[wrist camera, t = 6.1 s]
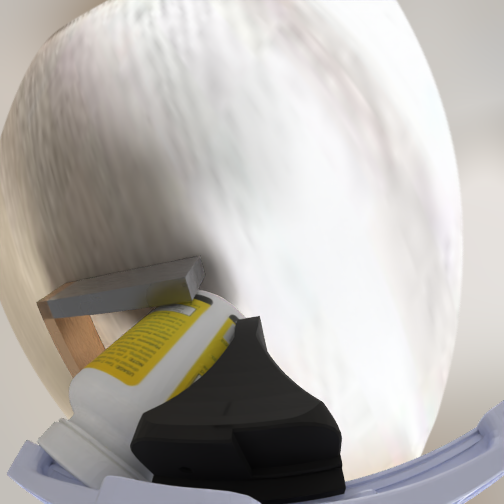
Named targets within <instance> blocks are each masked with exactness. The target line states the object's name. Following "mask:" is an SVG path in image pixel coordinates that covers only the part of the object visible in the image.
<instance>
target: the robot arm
mask: <svg viewBox="0 0 504 504" xmlns="http://www.w3.org/2000/svg"><path fill="white" fill-rule="evenodd" d="M341 442H342V436H341V432H340V430H339V427H338V425H337V423H336V421H335V419H334V418H333V416H332V415H331V413H330V412H329V410H328V409H327V407H326V406H325V404H324V403H323V402H322V401H320V400H319V399H317V398H315V397H314V396H312V395H311V394H309V393H308V392H306V391H305V390H303V389H302V388H301V387H299V386H298V385H297V384H296V383H295V382H294V381H293V380H291V379H290V378H289V377H288V376H287V375H286V374H285V373H284V372H283V371H282V370H281V369H280V368H279V366H278V365H277V364H276V363H275V362H274V360H273V359H272V358H271V356H270V355H269V353H268V352H267V348H266V343H265V339H264V334H263V329H262V325H261V320H260V316H258V317H251V318H245V319H238V320H237V323H236V325H235V332H234V338H233V339H232V341H231V343H230V344H229V345H228V347H227V348H226V350H225V351H224V352H223V354H222V355H221V356H220V357H219V359H218V360H217V361H216V362H215V363H214V365H213V366H212V367H211V368H210V369H209V370H208V371H207V372H206V373H205V374H204V375H203V376H201V377H200V378H199V379H198V380H197V381H195V382H194V383H193V384H192V385H190V386H189V387H188V388H187V389H185V390H184V391H182V392H181V393H179V394H178V395H176V396H175V397H173V398H172V399H170V400H168V401H166V402H165V403H163V404H161V405H159V406H157V407H155V408H153V409H151V410H149V411H146V412H144V413H143V414H142V416H141V418H140V420H139V422H138V425H137V428H136V430H135V433H134V436H133V438H132V441H131V444H130V448H131V451H132V453H133V454H134V455H135V457H136V458H137V459H138V460H139V461H140V462H141V463H142V464H143V465H144V466H145V467H146V468H147V469H148V470H149V471H150V472H151V473H152V474H153V479H152V482H151V483H150V482H145V481H139V480H135V479H130V478H126V477H120V476H113V475H110V476H106V477H105V478H104V479H103V482H102V484H101V487H100V490H98V489H93V488H88V487H87V486H85V485H84V484H83V483H81V482H80V481H79V480H78V479H76V478H75V477H74V476H73V475H71V474H70V473H69V472H68V471H66V470H65V469H64V468H63V467H62V466H60V465H59V464H58V463H57V462H56V461H55V460H54V459H53V458H52V457H51V456H50V455H49V454H48V453H47V452H46V451H45V450H44V449H43V448H42V447H41V446H39V445H37V444H35V443H33V442H31V441H29V440H26V442H25V443H24V445H23V446H22V448H21V450H20V451H19V453H18V455H17V457H16V458H15V460H14V462H13V463H12V465H11V467H10V469H9V470H8V472H7V475H8V476H9V477H10V478H11V479H13V480H14V481H15V482H16V483H17V484H18V485H20V486H21V487H22V488H24V489H25V490H26V491H27V492H29V493H30V494H32V495H33V496H34V497H36V498H37V499H38V500H40V501H41V502H43V503H44V504H464V503H465V502H467V501H468V500H470V499H472V498H473V497H475V496H476V495H478V494H479V493H480V492H482V491H483V490H485V489H486V488H488V487H489V486H490V485H492V484H493V483H494V482H496V481H497V480H498V479H499V478H501V477H502V476H503V475H504V400H503V401H501V402H500V403H499V404H497V405H496V406H494V407H493V408H491V409H490V410H489V411H488V412H487V413H486V414H485V415H484V416H483V417H482V418H481V420H480V421H479V423H478V425H477V427H476V428H474V429H472V430H471V431H469V432H467V433H466V434H464V435H462V436H460V437H459V438H457V439H455V440H453V441H451V442H450V443H448V444H446V445H444V446H442V447H440V448H438V449H436V450H434V451H431V452H429V453H427V454H425V455H423V456H420V457H418V458H416V459H413V460H411V461H408V462H406V463H403V464H401V465H398V466H396V467H393V468H390V469H387V470H384V471H381V472H378V473H375V474H372V475H368V476H365V477H362V478H358V479H354V480H350V481H346V482H345V480H344V475H343V471H342V460H341V456H340V451H341Z"/></svg>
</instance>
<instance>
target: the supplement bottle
mask: <svg viewBox="0 0 504 504" xmlns="http://www.w3.org/2000/svg"><path fill="white" fill-rule="evenodd" d="M238 319H245V317H244V315H243V314H242V313H241V312H240V311H239V310H238V309H237V308H236V307H235V306H234V305H232V304H231V303H230V302H228V301H227V300H225V299H224V298H222V297H220V296H218V295H216V294H213V293H211V292H208V291H203V290H198V291H197V293H196V295H195V297H194V299H193V300H192V301H189V302H182V303H176V304H169V305H162V306H157V307H156V308H155V309H154V310H152V311H151V312H150V313H149V314H148V315H147V316H145V317H144V318H143V319H142V320H141V321H139V322H138V323H137V324H136V325H135V326H133V327H132V328H131V329H130V330H128V331H127V332H126V333H125V334H124V335H123V336H122V337H120V338H119V339H118V340H117V341H115V342H114V343H113V344H112V345H111V346H110V347H108V348H107V349H106V350H105V351H103V352H102V353H101V354H100V355H99V356H98V357H96V358H95V359H94V360H93V361H91V362H90V363H89V364H88V365H87V366H86V367H84V368H83V369H82V370H81V371H80V372H79V373H78V374H77V375H76V376H75V377H74V378H73V380H72V381H71V384H70V387H69V399H70V404H71V407H72V409H73V412H74V414H73V416H72V417H71V418H70V419H69V420H66V419H63V418H61V419H60V420H59V422H54V423H53V424H52V425H51V427H50V428H48V429H47V431H46V432H45V433H44V434H43V435H42V436H41V437H40V438H39V439H38V444H39V445H40V446H41V447H42V448H43V449H44V450H45V451H46V452H47V453H48V454H49V455H50V456H51V457H52V458H53V459H54V460H55V461H56V462H57V463H58V464H59V465H60V466H62V467H63V468H64V469H65V470H66V471H68V472H69V473H70V474H71V475H73V476H74V477H75V478H76V479H78V480H79V481H80V482H81V483H83V484H84V485H85V486H87V487H88V488H93V489H98V490H100V487H101V484H102V482H103V479H104V478H105V477H106V476H110V475H113V476H120V477H126V478H130V479H135V480H139V481H145V482H150V483H151V482H152V479H153V474H152V473H151V472H150V471H149V470H148V469H147V468H146V467H145V466H144V465H143V464H142V463H141V462H140V461H139V460H138V459H137V458H136V457H135V455H134V454H133V453H132V451H131V448H130V444H131V441H132V438H133V436H134V433H135V430H136V428H137V425H138V422H139V420H140V418H141V416H142V414H143V413H144V412H146V411H149V410H151V409H153V408H155V407H157V406H159V405H161V404H163V403H165V402H166V401H168V400H170V399H172V398H173V397H175V396H176V395H178V394H179V393H181V392H182V391H184V390H185V389H187V388H188V387H189V386H190V385H192V384H193V383H194V382H195V381H197V380H198V379H199V378H200V377H201V376H203V375H204V374H205V373H206V372H207V371H208V370H209V369H210V368H211V367H212V366H213V365H214V363H215V362H216V361H217V360H218V359H219V357H220V356H221V355H222V354H223V352H224V351H225V350H226V348H227V347H228V345H229V344H230V343H231V341H232V339H233V338H234V332H235V325H236V323H237V320H238Z"/></svg>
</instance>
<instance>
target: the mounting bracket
mask: <svg viewBox="0 0 504 504" xmlns="http://www.w3.org/2000/svg"><path fill="white" fill-rule="evenodd" d="M204 277H205V272H204V268H203V264H202V260H201V256H196V257H191V258H186V259H181V260H176V261H171V262H166V263H161V264H157V265H152V266H147V267H142V268H137V269H132V270H127V271H122V272H117V273H112V274H108V275H103V276H98V277H93V278H88V279H84V280H79V281H74V282H69V283H65V284H64V285H62V286H61V287H59V288H58V289H56V290H54V291H53V292H51V293H50V294H48V295H47V296H45V297H44V298H42V299H41V300H39V301H38V302H36V303H37V306H38V308H39V311H40V313H41V315H42V318H43V320H44V322H45V324H46V327H47V329H48V331H49V333H50V335H51V337H52V339H53V341H54V343H55V345H56V347H57V349H58V351H59V353H60V355H61V357H62V359H63V361H64V363H65V364H66V366H67V368H68V370H69V371H70V373H71V375H72V376H73V378H74V377H75V376H76V375H77V374H78V373H79V372H80V371H81V370H82V369H83V368H84V367H86V366H87V365H88V364H89V363H90V362H91V361H93V360H94V359H95V358H96V357H98V356H99V355H100V354H101V353H102V352H103V351H105V348H104V346H103V344H102V342H101V340H100V338H99V336H98V334H97V331H96V329H95V327H94V325H93V322H92V320H91V318H90V315H94V314H102V313H110V312H118V311H126V310H134V309H141V308H148V307H156V306H162V305H169V304H176V303H182V302H189V301H192V300H193V299H194V297H195V295H196V293H197V291H198V289H199V287H200V285H201V283H202V281H203V279H204Z"/></svg>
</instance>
